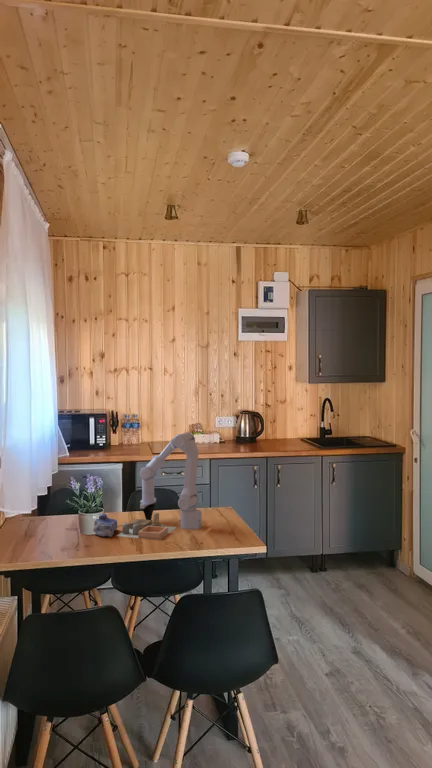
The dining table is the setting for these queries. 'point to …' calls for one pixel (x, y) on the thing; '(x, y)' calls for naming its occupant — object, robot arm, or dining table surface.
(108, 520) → the mineral
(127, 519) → the dining table surface
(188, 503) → the robot arm
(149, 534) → the tray
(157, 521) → the dowel
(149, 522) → the square tan tile
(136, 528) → the jig board
